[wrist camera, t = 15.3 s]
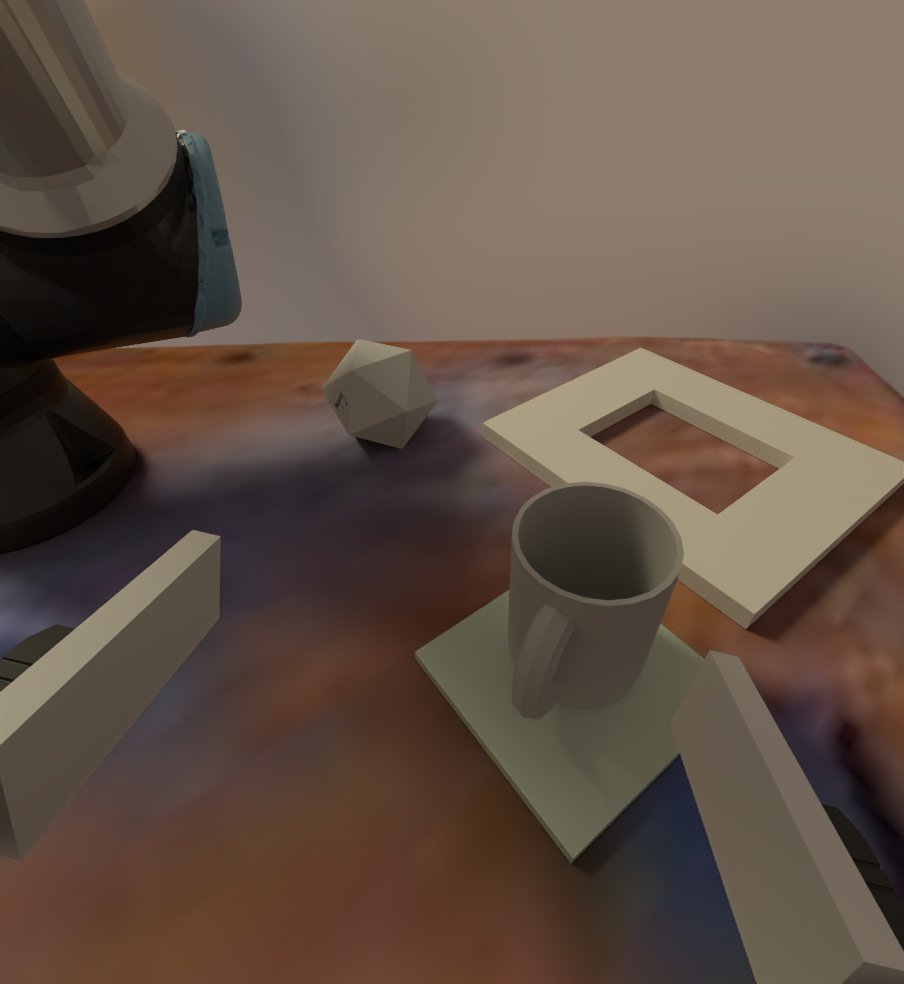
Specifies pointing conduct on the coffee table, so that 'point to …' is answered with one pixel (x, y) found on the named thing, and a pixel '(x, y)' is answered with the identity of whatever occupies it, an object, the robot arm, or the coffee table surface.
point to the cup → (586, 593)
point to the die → (380, 393)
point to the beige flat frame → (705, 535)
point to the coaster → (563, 727)
